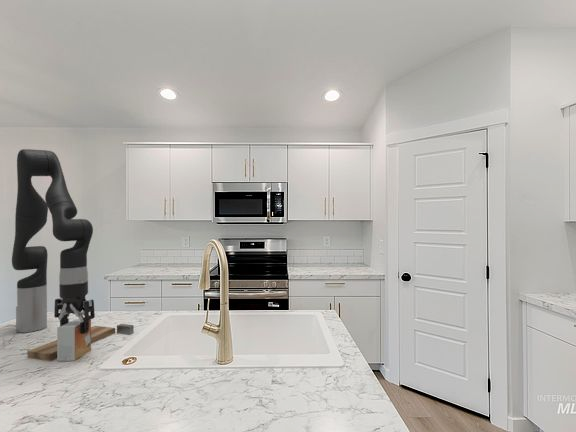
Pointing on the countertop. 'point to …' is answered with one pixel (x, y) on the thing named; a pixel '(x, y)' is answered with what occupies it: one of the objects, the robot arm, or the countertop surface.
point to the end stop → (125, 329)
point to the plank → (50, 349)
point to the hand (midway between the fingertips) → (74, 332)
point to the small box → (72, 341)
